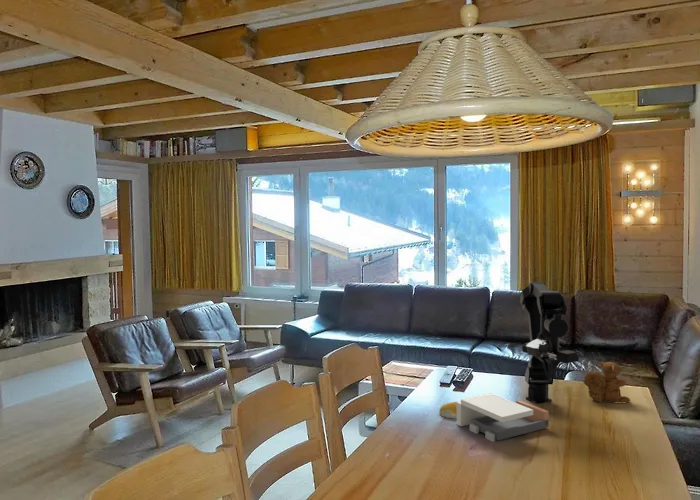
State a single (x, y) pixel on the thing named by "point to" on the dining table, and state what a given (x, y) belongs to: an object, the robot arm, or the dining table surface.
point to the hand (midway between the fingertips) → (549, 378)
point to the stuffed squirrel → (606, 384)
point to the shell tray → (514, 423)
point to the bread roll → (449, 410)
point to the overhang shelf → (489, 411)
